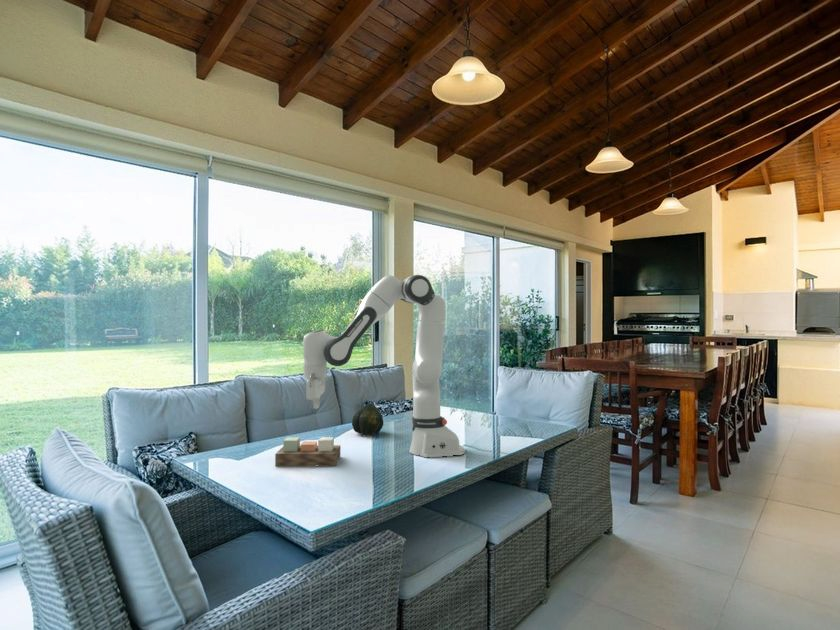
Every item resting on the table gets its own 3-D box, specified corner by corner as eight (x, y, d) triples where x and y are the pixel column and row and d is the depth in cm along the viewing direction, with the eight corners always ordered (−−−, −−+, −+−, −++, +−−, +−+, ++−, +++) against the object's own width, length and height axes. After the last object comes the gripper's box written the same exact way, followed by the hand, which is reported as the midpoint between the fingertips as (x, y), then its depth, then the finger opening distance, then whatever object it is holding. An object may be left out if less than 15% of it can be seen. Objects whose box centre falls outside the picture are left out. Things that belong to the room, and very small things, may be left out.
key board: (340, 456, 192) (340, 445, 192) (335, 465, 180) (335, 453, 180) (283, 457, 192) (284, 445, 192) (275, 466, 180) (275, 453, 180)
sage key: (299, 450, 188) (299, 437, 188) (296, 453, 183) (296, 440, 183) (286, 450, 188) (286, 437, 188) (283, 454, 183) (283, 440, 183)
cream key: (333, 450, 188) (333, 437, 188) (331, 453, 183) (331, 440, 183) (320, 450, 188) (320, 437, 188) (318, 453, 183) (318, 440, 183)
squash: (348, 426, 221) (369, 400, 224) (345, 421, 236) (365, 397, 239) (371, 446, 223) (392, 420, 226) (367, 440, 238) (387, 415, 241)
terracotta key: (316, 454, 188) (316, 441, 188) (314, 458, 183) (314, 444, 183) (303, 454, 188) (303, 441, 188) (300, 458, 183) (300, 444, 183)
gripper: (318, 375, 180) (319, 412, 180) (327, 369, 201) (328, 403, 201) (301, 375, 180) (302, 413, 180) (312, 370, 201) (313, 404, 201)
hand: (316, 408), depth 191 cm, fingers closed
